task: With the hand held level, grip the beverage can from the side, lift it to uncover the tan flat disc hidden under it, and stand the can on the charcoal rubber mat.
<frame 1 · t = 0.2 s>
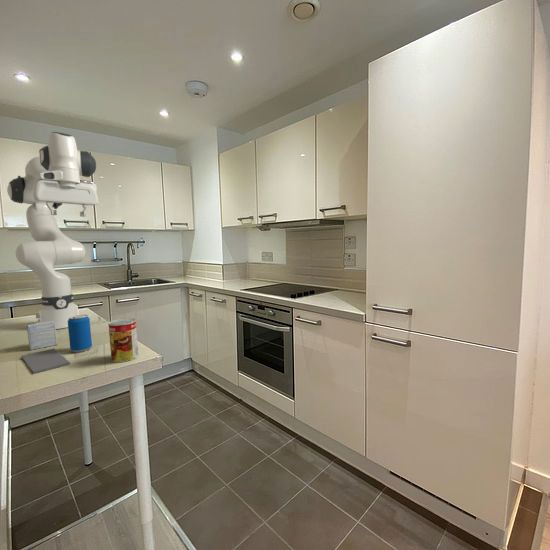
hand: (68, 215, 117), 48 cm above the table, tool pointing down, fingers open, 8 cm apart
beverage can: (81, 350, 109), on the table, touching tan flat disc
canned food: (125, 358, 101), on the table
tan flat disc: (81, 350, 109), on the table
medicine box: (43, 347, 114), on the table
charcoal mat: (44, 360, 100), on the table
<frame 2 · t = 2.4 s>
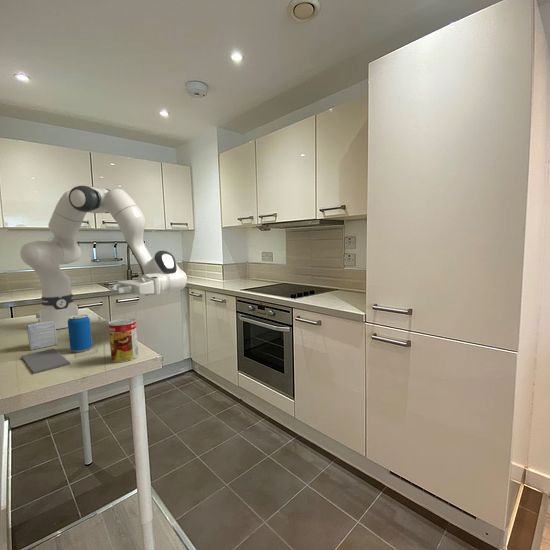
hand: (113, 289, 116), 20 cm above the table, tool horizontal, fingers open, 8 cm apart
nothing on the table moved.
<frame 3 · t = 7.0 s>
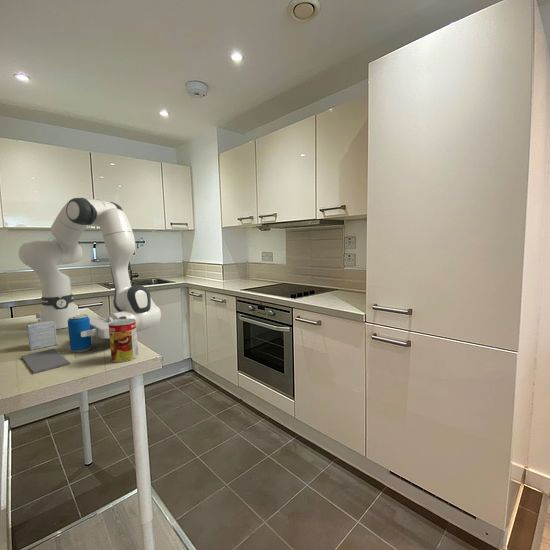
hand: (76, 332, 108), 7 cm above the table, tool horizontal, fingers closed on beverage can, 6 cm apart
beverage can: (81, 350, 109), on the table, touching tan flat disc, gripper
everything else where it was.
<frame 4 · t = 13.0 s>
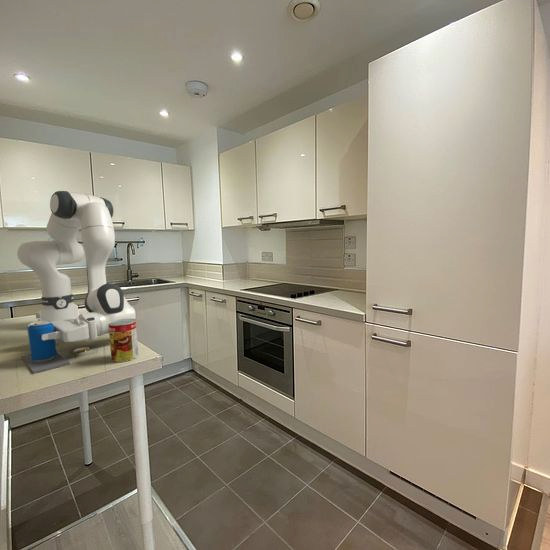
hand: (38, 335, 98), 9 cm above the table, tool horizontal, fingers closed on beverage can, 6 cm apart
beverage can: (44, 359, 99), resting on charcoal mat, touching gripper
everything else where it was.
when the fingers open (9 cm above the table, at t = 13.9 s): beverage can stays where it is, resting on charcoal mat.
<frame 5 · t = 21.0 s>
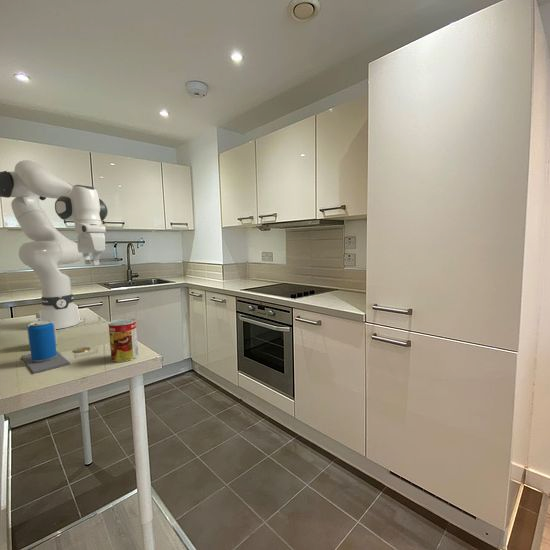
hand: (91, 264, 120), 29 cm above the table, tool pointing down, fingers open, 8 cm apart
beverage can: (44, 359, 99), resting on charcoal mat
everything else where it was.
at the end: beverage can inside the target area on the charcoal mat (0.2 cm from its centre), point 0.4 cm above the charcoal mat's base; beverage can tilted 0°; beverage can moved 11.3 cm from its start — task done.
